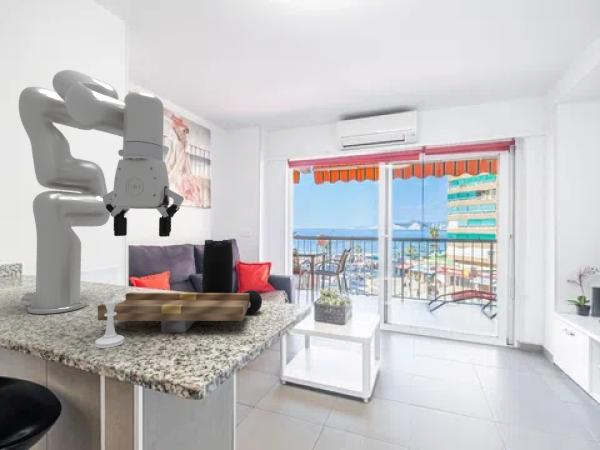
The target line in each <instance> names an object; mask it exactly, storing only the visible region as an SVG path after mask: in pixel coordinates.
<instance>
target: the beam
mask: <svg viewBox="0 0 600 450" xmlns="http://www.w3.org/2000/svg"><path fill="white" fill-rule="evenodd" d="M248 307H249V293H244V292H236V293H235V292H232V293H202V292H127V293H125V300H122V301H120V302H117V303H116V306H115V309H114V312H116V313H117V315H115V316H113V319H114V321H146V322H147V321H158V322H159V321H160V322H161V331H160V332H161V333H186V332H187V331H188V330H189V329H190V327H191V326H192V325H193V324H194V323H196V321H199V322H200V321H203V322H204V321H206V322H207V321H211V322H212V321H213V322H214V321H215V322H216V321H217V322H218V321H222V322H223V321H225V322H230V321H232V322H233V321H237V322H238V321H239V322H241V321H242V322H243V321H244V319H245V316H246V314H247V313H246V311H247V309H248ZM107 312H108V311H107V309H106V306H105V303H102V304H99V305H97V321H107V318H108V317H107V316H104V314H105V313H107Z"/></svg>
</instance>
